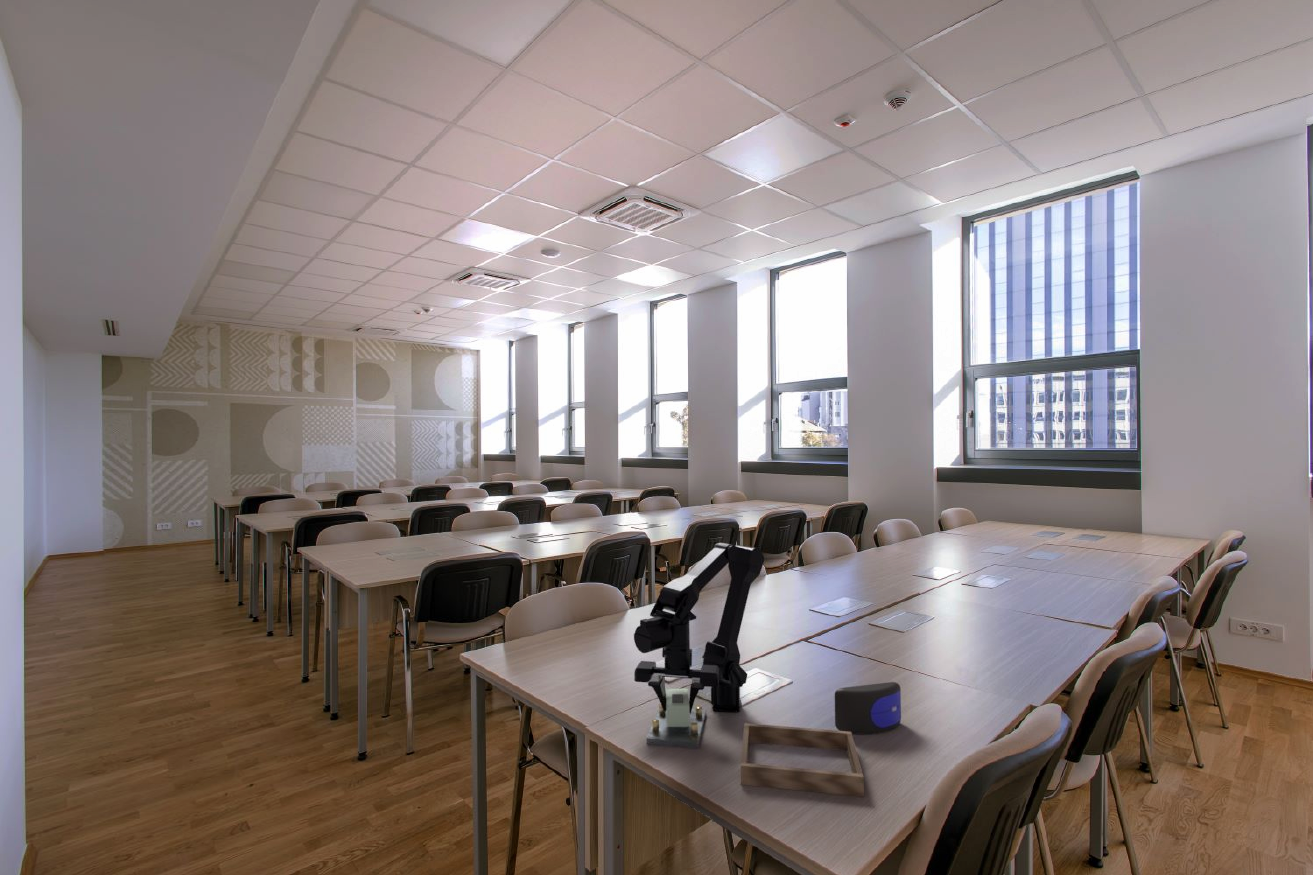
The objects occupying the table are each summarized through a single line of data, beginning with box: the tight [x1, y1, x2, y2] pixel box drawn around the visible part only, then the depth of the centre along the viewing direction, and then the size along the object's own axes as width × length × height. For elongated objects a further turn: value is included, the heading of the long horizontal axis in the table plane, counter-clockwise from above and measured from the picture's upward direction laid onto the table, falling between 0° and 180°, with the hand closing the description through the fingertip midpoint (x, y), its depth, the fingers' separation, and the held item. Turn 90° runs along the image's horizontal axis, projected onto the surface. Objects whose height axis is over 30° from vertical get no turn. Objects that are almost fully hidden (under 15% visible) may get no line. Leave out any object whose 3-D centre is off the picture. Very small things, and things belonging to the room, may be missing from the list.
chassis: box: [645, 703, 707, 749], centre depth 132 cm, size 11×16×3 cm
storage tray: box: [740, 722, 865, 797], centre depth 116 cm, size 22×17×4 cm
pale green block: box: [665, 688, 690, 727], centre depth 132 cm, size 5×9×5 cm, turn 179°
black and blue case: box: [834, 681, 902, 735], centre depth 131 cm, size 16×5×9 cm, turn 103°
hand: (677, 711), depth 132 cm, fingers closed on pale green block, 5 cm apart
